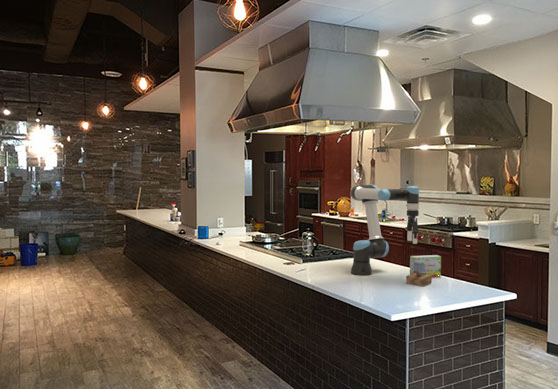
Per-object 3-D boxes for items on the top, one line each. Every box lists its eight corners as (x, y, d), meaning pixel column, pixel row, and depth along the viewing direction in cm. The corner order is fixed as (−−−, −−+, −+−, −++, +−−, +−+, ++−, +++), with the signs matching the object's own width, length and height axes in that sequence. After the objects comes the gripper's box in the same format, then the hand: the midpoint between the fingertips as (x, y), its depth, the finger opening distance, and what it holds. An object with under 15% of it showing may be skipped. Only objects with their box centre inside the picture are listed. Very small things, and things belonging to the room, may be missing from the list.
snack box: (413, 279, 330) (414, 257, 330) (409, 277, 336) (409, 255, 335) (441, 277, 336) (441, 255, 335) (436, 275, 341) (436, 254, 341)
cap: (425, 271, 312) (425, 262, 312) (414, 271, 313) (414, 262, 313) (423, 269, 319) (423, 260, 319) (412, 269, 320) (412, 260, 320)
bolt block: (406, 283, 316) (406, 263, 316) (414, 280, 325) (414, 261, 325) (423, 286, 308) (423, 266, 308) (431, 283, 317) (431, 263, 317)
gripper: (402, 208, 330) (402, 239, 331) (411, 211, 306) (411, 244, 306) (413, 208, 330) (413, 239, 331) (423, 211, 305) (423, 244, 306)
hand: (412, 242), depth 319 cm, fingers open, 13 cm apart
